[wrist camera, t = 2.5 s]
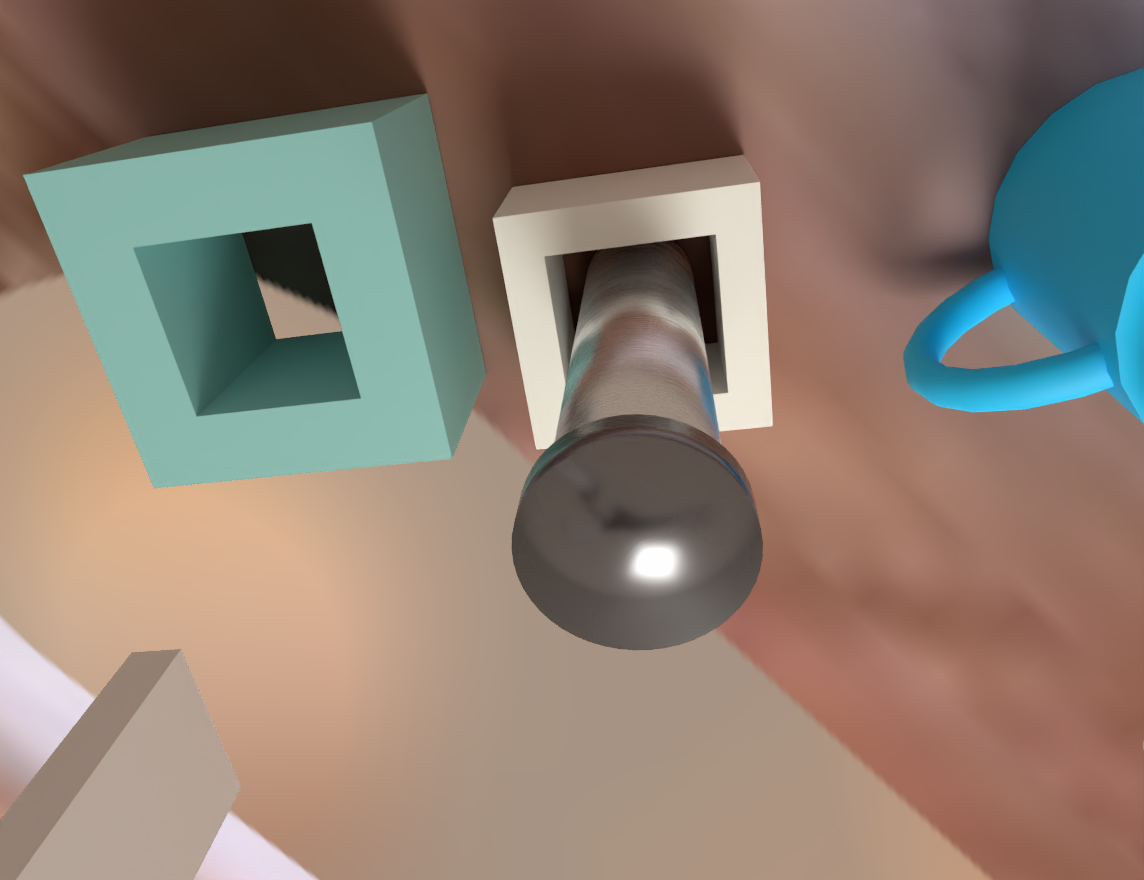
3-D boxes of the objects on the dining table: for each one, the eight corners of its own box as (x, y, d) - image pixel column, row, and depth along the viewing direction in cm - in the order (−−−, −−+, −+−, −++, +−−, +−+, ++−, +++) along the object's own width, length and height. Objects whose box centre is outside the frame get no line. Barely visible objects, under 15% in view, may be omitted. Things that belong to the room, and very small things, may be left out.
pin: (583, 351, 29) (534, 657, 16) (564, 226, 27) (490, 455, 14) (711, 337, 29) (769, 641, 16) (700, 208, 27) (755, 428, 14)
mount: (548, 394, 30) (536, 449, 27) (512, 187, 27) (492, 218, 24) (757, 372, 29) (772, 426, 26) (744, 154, 26) (759, 181, 23)
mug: (1253, 3, 24) (1524, 14, 16) (1310, 267, 27) (1560, 375, 19) (825, 220, 27) (892, 308, 20) (918, 432, 30) (1006, 576, 23)
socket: (237, 401, 31) (153, 488, 26) (144, 137, 27) (22, 175, 22) (486, 373, 30) (452, 458, 25) (427, 92, 26) (371, 121, 21)
